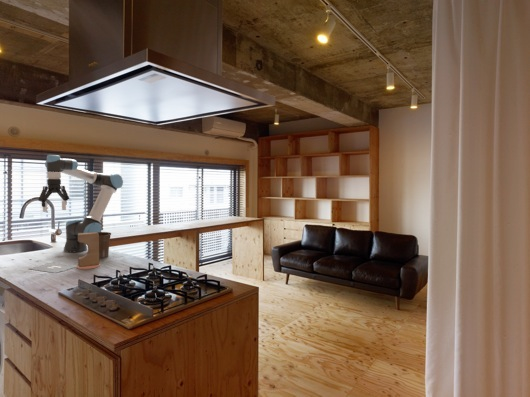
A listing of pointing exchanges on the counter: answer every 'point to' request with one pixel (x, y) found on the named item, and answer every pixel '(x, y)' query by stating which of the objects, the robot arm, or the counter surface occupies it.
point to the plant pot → (104, 244)
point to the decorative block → (89, 249)
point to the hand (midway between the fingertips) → (54, 210)
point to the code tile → (54, 267)
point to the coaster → (88, 266)
